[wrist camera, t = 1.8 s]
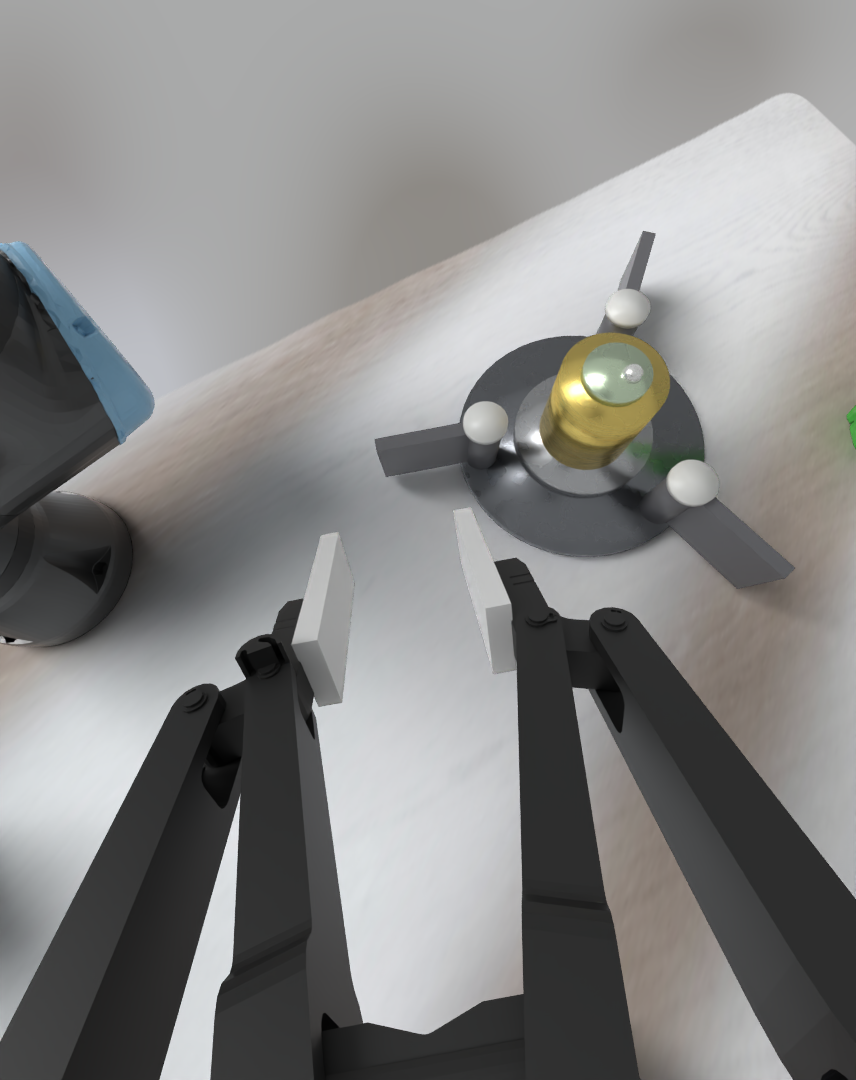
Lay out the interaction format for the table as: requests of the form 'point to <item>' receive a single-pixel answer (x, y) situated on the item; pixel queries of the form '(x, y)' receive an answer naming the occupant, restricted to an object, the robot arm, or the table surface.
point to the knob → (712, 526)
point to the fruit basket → (852, 424)
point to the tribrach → (582, 442)
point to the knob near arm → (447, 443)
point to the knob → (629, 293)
